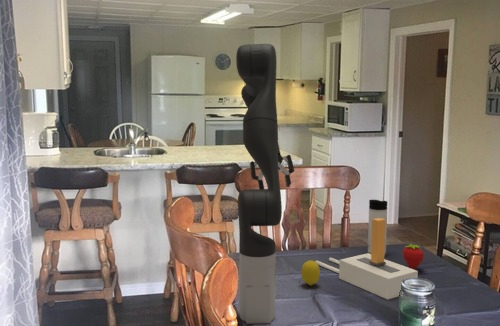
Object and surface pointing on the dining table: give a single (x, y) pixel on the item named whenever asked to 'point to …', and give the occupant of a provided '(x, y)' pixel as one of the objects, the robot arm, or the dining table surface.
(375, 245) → the handle
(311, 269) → the lemon
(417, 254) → the strawberry
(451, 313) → the dining table surface
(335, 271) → the cords
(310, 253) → the dining table surface
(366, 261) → the switch box
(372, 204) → the travel mug
